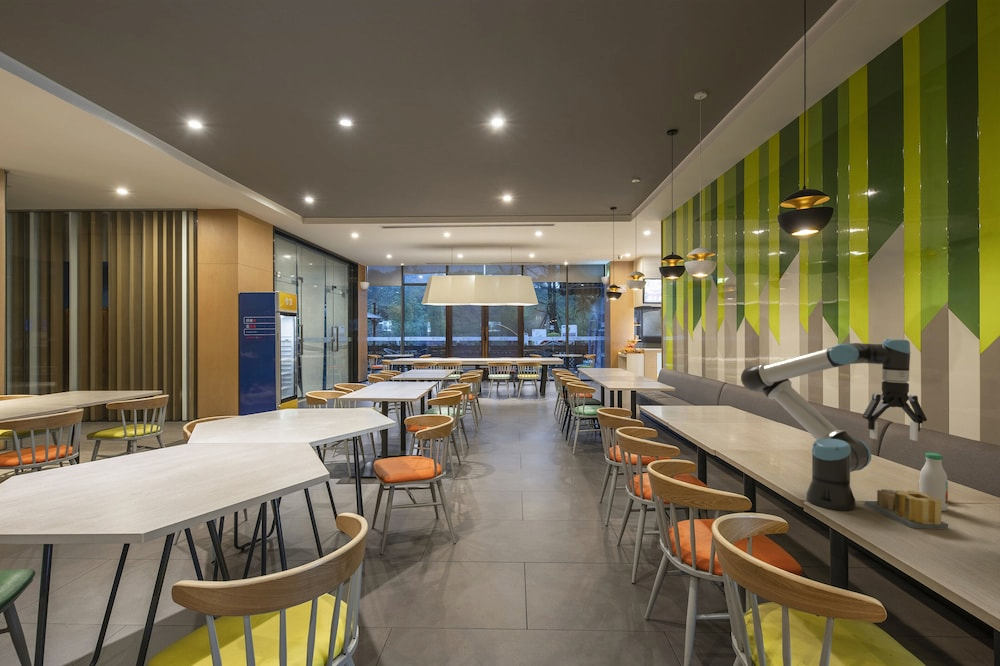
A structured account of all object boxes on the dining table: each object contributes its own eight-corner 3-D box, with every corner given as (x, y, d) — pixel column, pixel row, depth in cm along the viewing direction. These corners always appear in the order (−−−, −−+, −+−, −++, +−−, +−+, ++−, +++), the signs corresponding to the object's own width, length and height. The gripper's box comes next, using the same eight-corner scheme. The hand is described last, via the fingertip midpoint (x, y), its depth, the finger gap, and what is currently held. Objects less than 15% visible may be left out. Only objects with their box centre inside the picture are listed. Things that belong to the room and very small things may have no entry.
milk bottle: (942, 513, 165) (942, 457, 165) (915, 505, 172) (915, 452, 171) (951, 509, 168) (952, 455, 168) (924, 502, 175) (925, 450, 175)
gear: (915, 523, 151) (915, 501, 151) (889, 511, 161) (889, 490, 161) (947, 524, 151) (948, 502, 151) (919, 512, 161) (920, 491, 161)
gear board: (910, 527, 152) (911, 505, 152) (864, 504, 172) (865, 485, 172) (948, 528, 151) (948, 506, 151) (897, 505, 171) (897, 486, 171)
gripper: (865, 381, 164) (864, 440, 165) (941, 383, 162) (939, 443, 162) (851, 379, 172) (850, 435, 172) (923, 381, 169) (922, 438, 170)
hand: (893, 439), depth 167 cm, fingers open, 13 cm apart
